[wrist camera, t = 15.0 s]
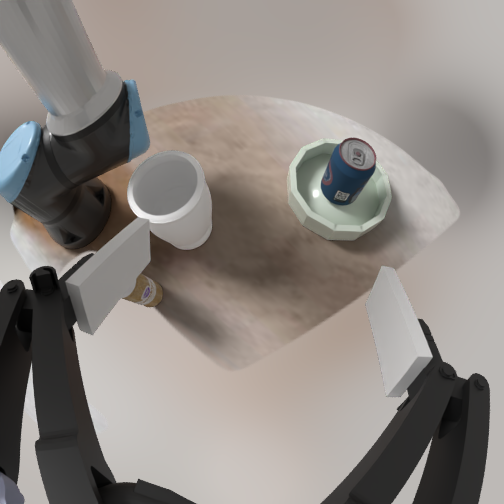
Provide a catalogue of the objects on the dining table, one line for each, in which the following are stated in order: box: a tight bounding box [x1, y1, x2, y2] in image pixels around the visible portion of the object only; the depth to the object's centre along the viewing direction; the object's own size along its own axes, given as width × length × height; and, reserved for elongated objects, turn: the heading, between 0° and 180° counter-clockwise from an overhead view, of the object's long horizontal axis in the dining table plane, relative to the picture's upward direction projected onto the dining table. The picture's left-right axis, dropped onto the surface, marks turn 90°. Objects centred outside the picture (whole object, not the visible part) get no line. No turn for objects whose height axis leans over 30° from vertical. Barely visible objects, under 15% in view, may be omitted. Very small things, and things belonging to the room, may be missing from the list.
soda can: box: [321, 138, 376, 206], centre depth 43 cm, size 7×7×12 cm
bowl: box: [287, 138, 392, 241], centre depth 47 cm, size 18×18×4 cm
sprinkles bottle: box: [121, 273, 163, 307], centre depth 38 cm, size 5×5×14 cm
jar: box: [127, 150, 212, 250], centre depth 41 cm, size 11×10×15 cm
